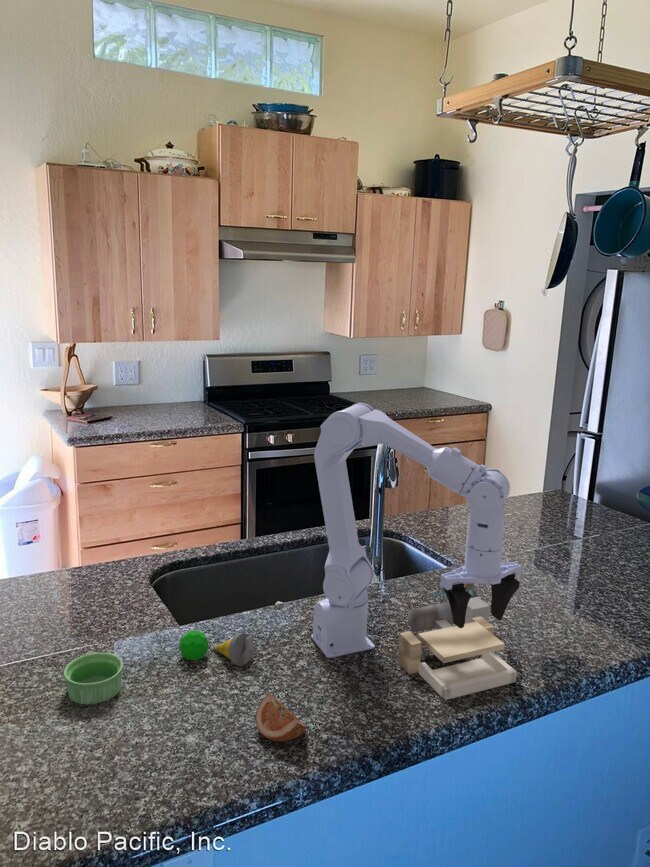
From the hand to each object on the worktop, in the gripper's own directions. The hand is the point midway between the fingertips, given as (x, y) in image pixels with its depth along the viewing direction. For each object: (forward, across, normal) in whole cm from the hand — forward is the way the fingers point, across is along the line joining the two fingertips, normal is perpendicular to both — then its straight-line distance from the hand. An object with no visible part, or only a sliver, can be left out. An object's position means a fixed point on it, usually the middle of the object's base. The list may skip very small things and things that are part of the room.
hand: (477, 621), depth 114 cm
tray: (+10, -2, 0) cm, 11 cm away
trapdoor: (+4, -2, +6) cm, 8 cm away
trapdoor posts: (+10, -2, +6) cm, 12 cm away
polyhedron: (+11, -43, +22) cm, 49 cm away
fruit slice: (+11, -36, -3) cm, 37 cm away
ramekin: (+11, -60, +18) cm, 63 cm away
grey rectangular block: (+11, +10, +15) cm, 21 cm away
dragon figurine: (+10, +10, +28) cm, 31 cm away
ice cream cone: (+7, -34, +15) cm, 38 cm away
